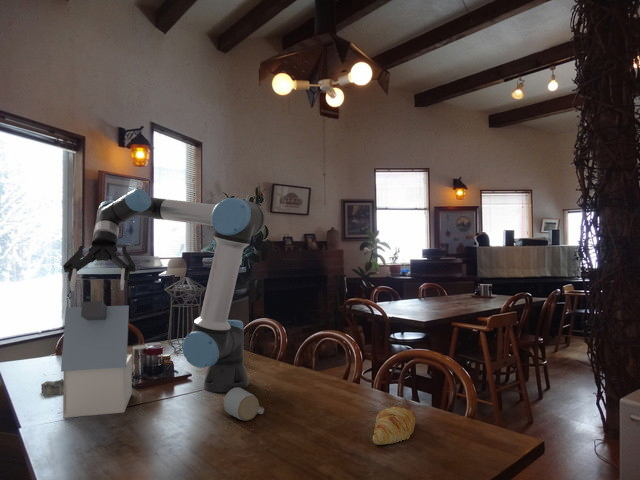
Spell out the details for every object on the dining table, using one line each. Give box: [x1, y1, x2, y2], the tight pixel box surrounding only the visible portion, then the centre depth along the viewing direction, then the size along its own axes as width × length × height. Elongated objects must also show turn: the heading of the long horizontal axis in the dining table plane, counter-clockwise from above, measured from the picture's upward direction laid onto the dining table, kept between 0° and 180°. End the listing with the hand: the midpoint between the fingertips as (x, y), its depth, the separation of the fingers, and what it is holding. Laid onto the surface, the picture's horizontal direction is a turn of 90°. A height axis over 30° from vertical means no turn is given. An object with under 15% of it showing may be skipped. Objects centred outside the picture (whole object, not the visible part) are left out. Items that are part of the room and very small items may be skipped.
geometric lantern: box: [164, 277, 207, 354], centre depth 218 cm, size 16×16×35 cm
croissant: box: [372, 405, 417, 446], centre depth 118 cm, size 21×10×8 cm, turn 146°
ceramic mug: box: [223, 387, 265, 422], centre depth 131 cm, size 11×8×8 cm
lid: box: [60, 300, 130, 373], centre depth 131 cm, size 18×17×10 cm
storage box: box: [62, 354, 133, 418], centre depth 141 cm, size 18×16×13 cm
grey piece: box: [41, 378, 64, 397], centre depth 156 cm, size 11×8×4 cm
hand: (97, 287), depth 138 cm, fingers open, 13 cm apart
